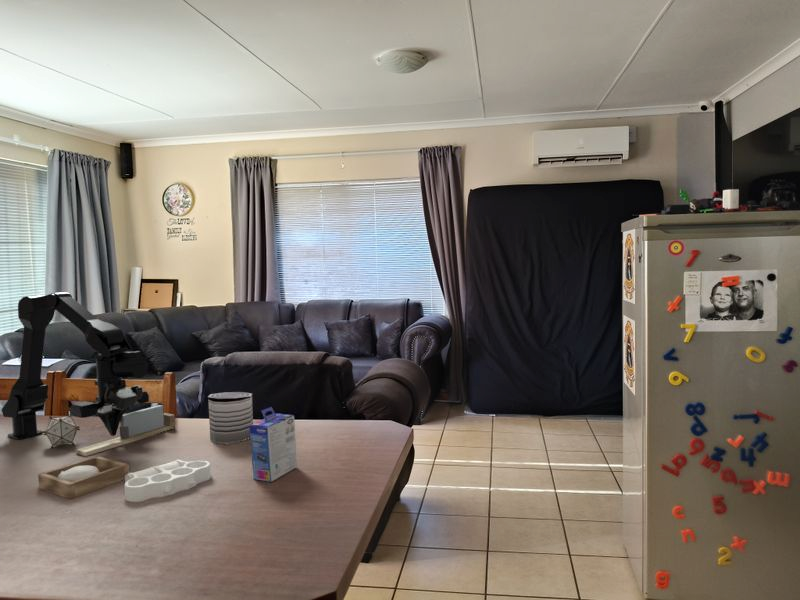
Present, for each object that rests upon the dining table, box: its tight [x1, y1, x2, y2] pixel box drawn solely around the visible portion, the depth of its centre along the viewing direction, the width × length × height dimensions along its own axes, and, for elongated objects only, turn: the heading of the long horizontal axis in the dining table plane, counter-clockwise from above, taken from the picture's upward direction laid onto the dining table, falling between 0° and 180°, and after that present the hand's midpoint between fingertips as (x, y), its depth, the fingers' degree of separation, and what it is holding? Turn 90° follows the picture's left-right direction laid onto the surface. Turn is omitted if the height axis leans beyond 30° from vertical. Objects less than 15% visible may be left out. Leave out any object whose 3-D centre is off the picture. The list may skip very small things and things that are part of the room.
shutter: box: [119, 404, 164, 439], centre depth 160 cm, size 2×12×6 cm, turn 148°
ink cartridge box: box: [249, 406, 298, 483], centre depth 130 cm, size 10×6×14 cm, turn 155°
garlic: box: [58, 465, 100, 482], centre depth 127 cm, size 8×7×4 cm
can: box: [207, 391, 254, 444], centre depth 157 cm, size 11×11×12 cm
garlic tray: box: [37, 455, 130, 500], centre depth 127 cm, size 12×13×3 cm
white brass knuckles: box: [123, 459, 212, 503], centre depth 125 cm, size 3×18×15 cm
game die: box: [42, 414, 81, 449], centre depth 153 cm, size 9×8×10 cm
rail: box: [75, 412, 176, 457], centre depth 156 cm, size 4×26×4 cm, turn 148°
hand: (113, 435), depth 153 cm, fingers closed
